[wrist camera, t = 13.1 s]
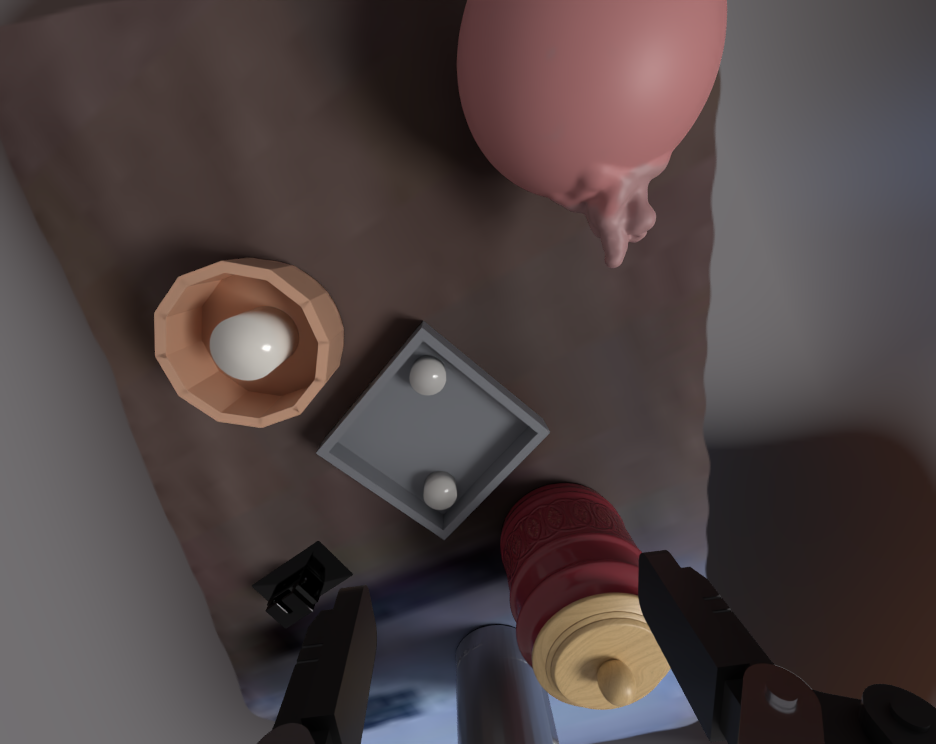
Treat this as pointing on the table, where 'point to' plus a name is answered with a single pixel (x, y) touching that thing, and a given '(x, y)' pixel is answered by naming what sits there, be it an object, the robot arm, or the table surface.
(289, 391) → the terracotta bowl
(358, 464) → the parts tray
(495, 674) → the robot arm
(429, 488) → the small pebble
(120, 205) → the table surface
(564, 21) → the balloon
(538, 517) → the canister
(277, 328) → the pale stone
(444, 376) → the small pebble
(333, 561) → the black bracket
